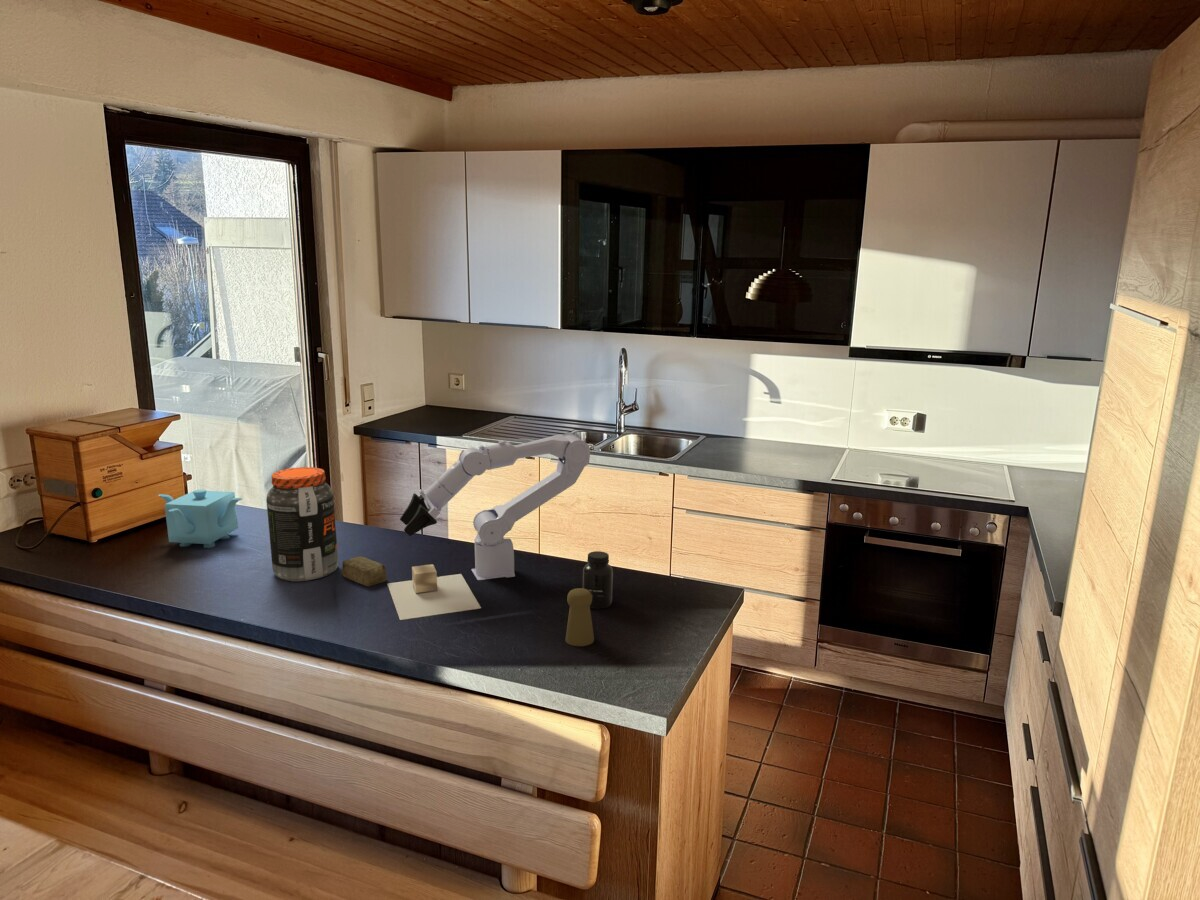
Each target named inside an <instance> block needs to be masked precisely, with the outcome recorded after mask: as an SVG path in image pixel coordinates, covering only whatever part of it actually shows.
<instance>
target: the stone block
mask: <svg viewBox="0 0 1200 900" xmlns="http://www.w3.org/2000/svg"><path fill="white" fill-rule="evenodd" d="M341 563H342V570H341V572H342V573H341V575H342V577H344V578H346V579H348V580H351V581H353V582H355V583H357V584H361V585H362V586H366V587H371V586H374V585H377V584H381V583H385V582H387V579H388V578H387V569H386V566H385V565H384V563H380V562H378V561H376V560H372V559H370V558H368V557H364V556H355V557H352V558H349V559H346V560H343V561H342V562H341Z"/></svg>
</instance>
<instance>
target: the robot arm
mask: <svg viewBox="0 0 1200 900" xmlns="http://www.w3.org/2000/svg"><path fill="white" fill-rule="evenodd" d="M543 455H551V456H554V457H557V458H558V459H557V465H556V470H555V471H554V472H552V473H551V474H549V475H547V476H546V477H545V478H543V479H541V480H540V481H538V482H537V483H534V484H533V485H531V486H530V487H529V488H527V489H526V490H524V491H523V492H521V493H520V494H519V493H518V494H517V496H515V497H513V498H512V499H511V500H509V501H507V502H506V503H504V504H499V505H495V506H493V507H491V508H489V509H483V510H480V511H479V512H477V513H476V514H475V516H474V518H473V521H472V523H473V524H472V525H473V528H474V529H475V530H476V531H477V532H476V535H475V538H474V563H475V564H474V566H475V567H474V568H471V571H472V573H473V575H474V577H475V578H476V580H477V581H483V580H491V579H498V578H514V577H516V574H515V552H514V551H515V550H514V544H513V540H512V539H511V538H505V535H506V534H507V533H509V532H510V531H512V530H513V527H514V525H515V523H516V522H517V521H520V520H521V519H523V518H524V517H526V516H528V515H529V514H530V513H532V512H534V511H535V510H536V509H538V508H539V507H541V506H543V505H544V504H545V503H547V502H549V501H550V500H552V499H553V498H555V497H556V496H558V495H560V494H561V493H563V492H564V491H566V490H567V489H569V488H571V487H572V486H574V485H575V484H576V483H577V481H578V479H579V477H580V476H581V474H582V472H583V470H584V469H585V467H586V466H588V464H590V458H591V448H590V445H589V444H588V443H587V442H586V441H584V440H582V439H581V438H580V437H579V436H578V435H576V433H575V434H574V433H572V432H571V433H570V432H569V433H568V432H567V433H563V434H561V433H560V434H559V433H558V434H555V435H551V436H548V437H543V438H540V439H536V440H533V441H532V440H531V441H528V442H523V443H520V444H516V445H513V444H512V443H511V442H509V441H507V442H505V441H504V440H499V441H498V442H497V444H492V445H491V444H490V445H486V446H484V445H479V446H478V448H475V447H468V448H466V449H463V450H461V452H460V453H459V455H458V456H459V457H458V459H457V460H456V461H455V462H454V463H453V464H452V465H451V466H449V468H447V469H446V470H445V472H443V473H442V474H441V475H440V476H439V477H438V478H437V479H436V480H435V481H434V482H433V483H432V484H431V485H430V486H429V487H428V488H427V489H423V490H422V489H421V488H420V489H419V490H418V493H419V495H417V494H416V493H413V494H412V497H411V500H410V502H409V504H408V505H407V506H406V509H405V510H404V512H403V513H402V515H401V516H400V519H399V521H400V522H402V523H403V524H404V525H405V527H404V528H403V532H404V533H406V534H407V535H408V536H409V537H412V536H413V535H415V534H417V533H418V532H420V531H422V530H423V529H425V528H427V527H430V526H433V525H436V524H437V523H438V521H437V519H436V518H437V517H438V516H439V515H440V514H441V511H442V509H443V508H444V507H445V506H446V505H447V504H448V503H449V502H450V501H451V500H453V498H454V497H455V496H456V495H457V494H458V493H459V492H460V491H462V490H463V488H464V487H465V486H467V484H468V483H469V482H470V481H471V480H472V479H473V478H474V477H476V476H481V475H483V474H484V473H485V472H486V471H491V470H494V469H499V468H504V467H510V466H514V464H515V463H516V461H517V460H518V459H524V458H531V457H536V456H543Z"/></svg>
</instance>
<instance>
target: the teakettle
mask: <svg viewBox="0 0 1200 900" xmlns="http://www.w3.org/2000/svg"><path fill="white" fill-rule="evenodd" d="M235 493H236V492H235V491H222V490H220V491H219V490H206V489H205V488H204V489H202V488H201V489H200V488H199V489H196V490H193V491H191V492H188V493H185V494H184V495H181V496H180V497H177V498H175V499H174V497H172V496H171V495H169V494H164V493H163V494H162V493H161V494H158V497H160V498H162V499H163V500H164V501H165V502H166V503H164V512H165V520H166V527H167V535H168V543H179V547H181V548H183V547H184V548H185V547H189V546H191V545H192V544H196V545H198V544H199V545H203V548H204V549H211V548H214V547H216V541H218V540H227V539H230V538H231V536H230V535H229V534H230V533H232V532H234V531H235V530H238V529H239V523H238V514H237V511H238V510H237V503H238V502H240V501H241V500H243V498H244V497H236V495H235Z"/></svg>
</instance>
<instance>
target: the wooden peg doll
mask: <svg viewBox="0 0 1200 900" xmlns="http://www.w3.org/2000/svg"><path fill="white" fill-rule="evenodd" d="M566 598H567V599H566V601H567V604H568V606H569V611H568V616H567V617H568V619H567V625H566V633H565V643H566V644H568V645H570V646H574V647H586V646H589V645H590V646H591V644H593V643H594V641H595V636H594V629H593V628H594V627H593V621H592V612H591V608H590V605H591V603H592V594H591V593H590V591H589V590H587V589H583V587H582V588H581V587H580V588H578V587H577V588H573V589H571V590H570V591H569V592H568V593H567V597H566Z"/></svg>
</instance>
